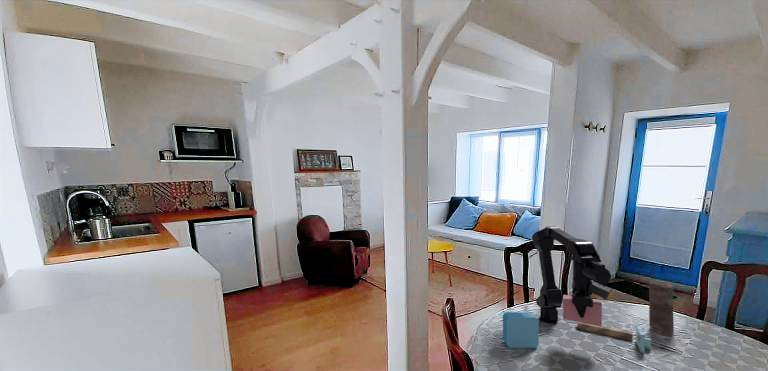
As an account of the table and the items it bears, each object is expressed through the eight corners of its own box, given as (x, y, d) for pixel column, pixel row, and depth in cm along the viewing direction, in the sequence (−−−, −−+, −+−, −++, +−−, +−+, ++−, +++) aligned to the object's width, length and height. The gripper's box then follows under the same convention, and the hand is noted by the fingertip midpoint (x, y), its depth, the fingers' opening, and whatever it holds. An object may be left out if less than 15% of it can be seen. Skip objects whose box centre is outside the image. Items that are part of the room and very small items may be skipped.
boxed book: (563, 318, 114) (563, 298, 114) (563, 314, 117) (563, 294, 117) (601, 326, 107) (601, 305, 107) (600, 321, 111) (600, 301, 110)
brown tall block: (644, 328, 124) (645, 281, 123) (654, 324, 127) (655, 278, 126) (667, 337, 117) (668, 288, 116) (677, 333, 120) (678, 285, 119)
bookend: (640, 352, 108) (640, 334, 108) (635, 341, 115) (636, 323, 115) (653, 355, 106) (653, 336, 106) (648, 344, 113) (648, 326, 113)
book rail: (577, 328, 126) (577, 322, 125) (577, 326, 127) (577, 320, 127) (632, 340, 116) (632, 334, 116) (631, 338, 118) (631, 332, 117)
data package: (533, 341, 117) (533, 311, 117) (538, 348, 113) (538, 317, 112) (502, 341, 118) (502, 312, 117) (507, 348, 113) (506, 317, 113)
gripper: (611, 287, 99) (610, 332, 100) (606, 270, 115) (605, 309, 116) (572, 281, 105) (571, 323, 106) (572, 266, 121) (571, 303, 122)
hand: (581, 315), depth 112 cm, fingers closed on boxed book, 4 cm apart
